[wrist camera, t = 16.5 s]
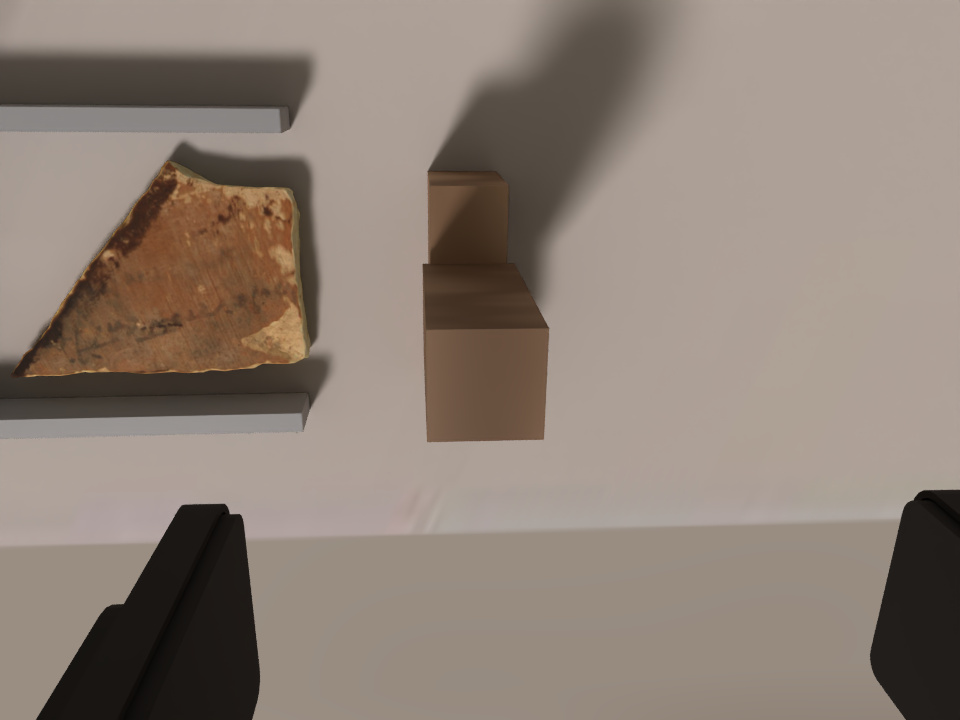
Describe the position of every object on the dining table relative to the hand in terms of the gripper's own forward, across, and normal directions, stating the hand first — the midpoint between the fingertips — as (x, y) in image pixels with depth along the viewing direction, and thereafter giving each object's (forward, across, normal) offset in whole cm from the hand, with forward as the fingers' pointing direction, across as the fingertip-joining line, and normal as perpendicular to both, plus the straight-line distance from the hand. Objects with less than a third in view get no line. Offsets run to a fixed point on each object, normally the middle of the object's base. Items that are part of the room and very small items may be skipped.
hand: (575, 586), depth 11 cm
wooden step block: (+20, +1, +1) cm, 20 cm away
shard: (+20, +11, +2) cm, 23 cm away
